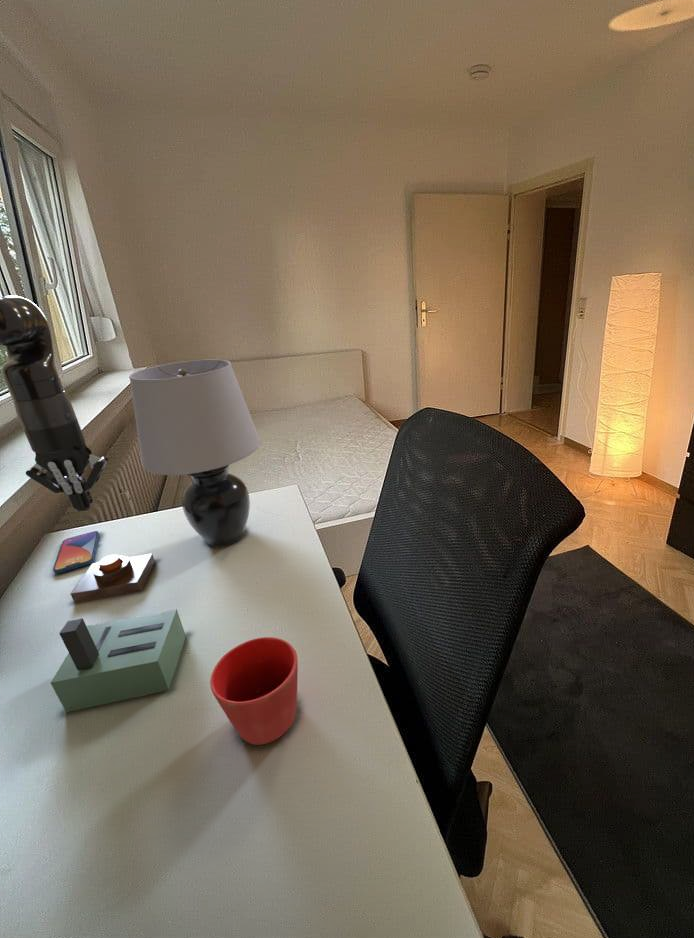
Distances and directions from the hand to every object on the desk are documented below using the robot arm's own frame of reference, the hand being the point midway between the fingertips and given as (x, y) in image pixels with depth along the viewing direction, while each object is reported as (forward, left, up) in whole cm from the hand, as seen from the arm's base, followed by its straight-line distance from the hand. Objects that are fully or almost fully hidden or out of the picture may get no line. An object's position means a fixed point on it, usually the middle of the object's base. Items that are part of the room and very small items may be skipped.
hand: (85, 509), depth 82 cm
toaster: (+10, -24, -18) cm, 32 cm away
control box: (-1, +2, -18) cm, 18 cm away
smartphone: (-14, +16, -18) cm, 28 cm away
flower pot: (+32, -38, -18) cm, 53 cm away
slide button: (+7, -27, -12) cm, 30 cm away
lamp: (+19, +13, -18) cm, 30 cm away
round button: (-1, +2, -15) cm, 15 cm away
